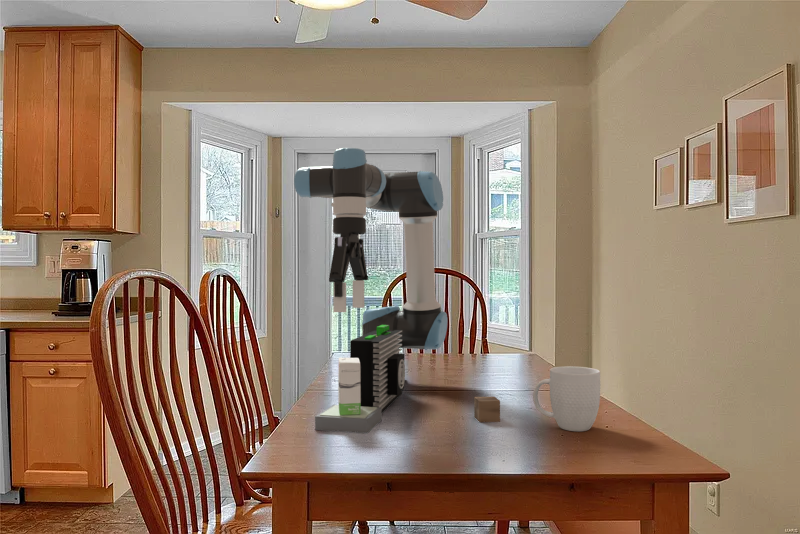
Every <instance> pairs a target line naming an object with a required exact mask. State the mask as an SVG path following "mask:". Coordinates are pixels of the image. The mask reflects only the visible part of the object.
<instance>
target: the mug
mask: <svg viewBox="0 0 800 534" xmlns="http://www.w3.org/2000/svg"><path fill="white" fill-rule="evenodd" d="M544 384H545V385H548V386H549V398H550V400H549V401H550V406H551V411H547V410H546V409H544V408H543V407H541V405H540V403H539V399H538V394H539V390H540V388H541V386H542V385H544ZM532 393H533V394H532V399H533V400H532V401H533V403H534V406H535V408H536V409H537V411H538V412H539V413H540V414H542V415H544V416H545V417H546V416H547V417H549V418H553V419H555V422H556V424H557V426H558V427H559V428H560V429H562V430H564V431H569V432H586V431H589V430H590V429H591V428H592V426H593V425H594V424H595V422H596V419H597V415H598V413H599V407H600V402H601V371H600V370H599V369H597V368H591V367H586V366H577V365H576V366H574V365H573V366H572V365H571V366H570V365H567V366H565V365H563V366H554V367H551V368H550V369H549V378H544V379H541V380H540V381H538V382H537V384H536V385H535V386H534V389H533V392H532Z"/></svg>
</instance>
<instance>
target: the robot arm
mask: <svg viewBox="0 0 800 534" xmlns="http://www.w3.org/2000/svg"><path fill="white" fill-rule="evenodd" d="M366 154H367V153H366V151H365V150H364V149H361V148H356V147H341V148H339V149H338V148H337V149H336V150H334V152H333V154H332V155H333V157H332V165H330V166H329V165H327V166H308V167H307V166H306V167H300V168H298V169H297V170H296V171H295V174H294V177H293V182H294V183H293V185H294V190H295V192H296V194H297V195H298V196H299V197H301V198H310V199H312V198H323V199H324V198H325V199H331V200H332V201H333V202H331V205H330V206H331V207H332V209H333V210H332V211H333V213H332V214H333V216H335V217H333V219H332V232H333V234H335V235H339V236H335V238H334V248H333V252H332V259H331V264H330V265H331V266H330V272H329V277H328V282H330V283H333V285H332V286H333V291H332V292H333V295H332V296H333V300H332V304H333V305H332V306H333V309H332V310H333V311H332V312H333V313H347V282H345V281H346V276H347V272H348V270H349V267H350V269H351V272H352V276H353V280H352V308H355V309H365V281H368V280H369V276H368V271H367V270H368V269H367V263H366V256H365V251H364V239H363V238H359V235H365V234H366V233H367V219H366V218H365V216H366V215H367V208H368V209H373V210H377V211H383V212H398V219H400V221H402V222H403V226H404V227H403V228H404V242H405V243H404V246H405V247H404V249H405V250H404V251H405V252H404V253H405V270H406V273H405V274H406V293H407V294H406V295H407V301H406V302H405V303H404V305H403V306H402V310H401V308H400V306H399V305H394V306H393V305H391V306H382V307H375V308H370V309H369V308H368V309H366V310H364V312H363V314H362V323H361V327H362V328H361V331H362V333H361V334H362V335H361V336H363V335H365V334H367V333H370V332H372V331H377V327H378V326H380V325H389V331H394V330H402V332H400V333H399V334H397V335H402V337H400V338H398V339H402V341H401V342H399V343H398V344H402V346H400V347H399V348H398V349H411V350H416V349H417V350H424V351H428V350H437V349H440V348H441V347H442V345H443V343H444V341H445V339H446V336H447V331H448V319H449V318H448V313H446V311H443V310H442V308H441V304H440V303H439V301H437V299H436V285H435V284H436V282H435V281H436V280H435V279H436V275H435V257H434V256H435V254H434V253H435V251H434V249H435V246H434V227H433V226H434V225H433V224H434V223H433V222H434V221H435V220H436V219H437V217H438V212H439V211H441V210H442V209H443V206H444V193H443V187H442V184H441V180H440V179H439V177H438V175H437V174H436V173H434V172H433V171H423V170H422V171H421V170H419V171H407V172H406V171H405V172H386V173H384V172H383V170H382V169H380V168H379V167H377V165H374V164H369V163H367V162H368V161H367V160H368V159H367V157H366V156H367V155H366ZM349 265H350V266H349ZM398 353H400V352H398Z"/></svg>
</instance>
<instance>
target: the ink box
mask: <svg viewBox="0 0 800 534" xmlns="http://www.w3.org/2000/svg"><path fill="white" fill-rule="evenodd" d="M337 374H338V379H337V380H338V381H337V382H338V384H337V385H338V387H337V391H338V392H337V394H338V395H337V396H338V398H337V399H338V402H337V403H338V404H337V405H339V414H340V415H356V414H361V385H360V361H359V358H350V357H338V371H337Z"/></svg>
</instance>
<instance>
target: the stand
mask: <svg viewBox="0 0 800 534" xmlns="http://www.w3.org/2000/svg"><path fill="white" fill-rule="evenodd" d="M382 414H383V413H382V408H379V407H362V406H361V414H356V415H340V414H339V404H333V405H331V406H329V407H328V408H326V409H324V410H322V412H319V413H318V414H317V415H315V416H314V422H315V423H314V428H315V429H314V430H315V431H329V432H342V433H356V434H357V433H358V434H368V433H369V432H370V431H371V430H373V428H375V427H376V426H377V425H379V423H381V421H382V418H383V417H382Z"/></svg>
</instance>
